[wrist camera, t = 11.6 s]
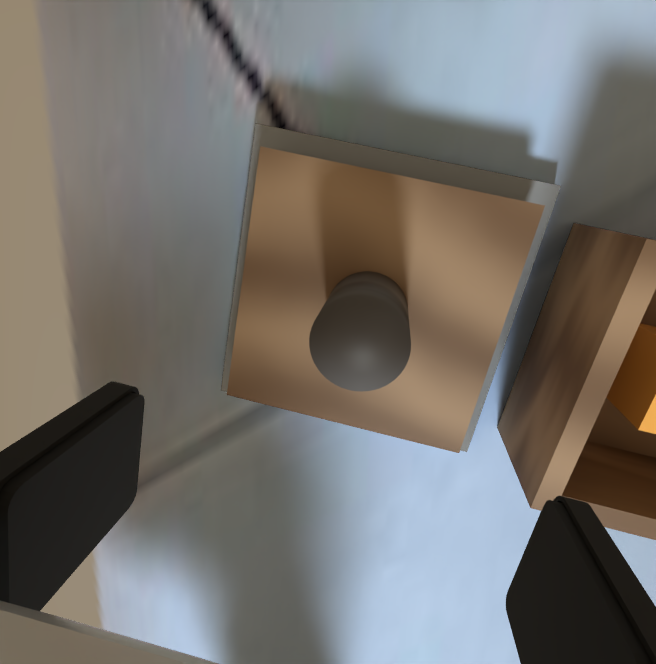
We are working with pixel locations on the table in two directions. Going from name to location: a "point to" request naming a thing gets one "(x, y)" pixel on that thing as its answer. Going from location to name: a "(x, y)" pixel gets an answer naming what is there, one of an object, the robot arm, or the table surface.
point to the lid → (374, 296)
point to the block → (638, 381)
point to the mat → (408, 168)
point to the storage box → (586, 384)
